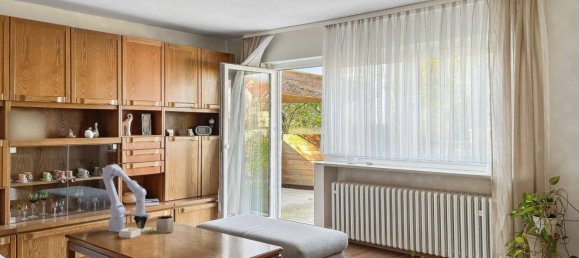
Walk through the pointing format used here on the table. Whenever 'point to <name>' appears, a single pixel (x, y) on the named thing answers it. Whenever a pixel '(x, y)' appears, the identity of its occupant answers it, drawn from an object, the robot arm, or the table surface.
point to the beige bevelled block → (130, 233)
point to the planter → (164, 224)
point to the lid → (143, 228)
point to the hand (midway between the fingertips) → (140, 227)
